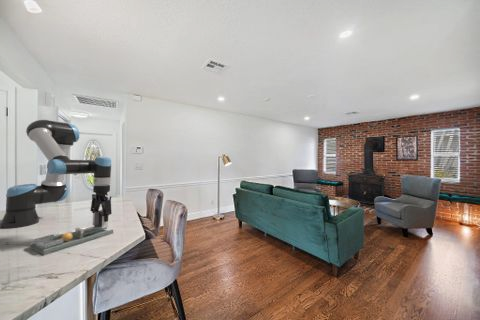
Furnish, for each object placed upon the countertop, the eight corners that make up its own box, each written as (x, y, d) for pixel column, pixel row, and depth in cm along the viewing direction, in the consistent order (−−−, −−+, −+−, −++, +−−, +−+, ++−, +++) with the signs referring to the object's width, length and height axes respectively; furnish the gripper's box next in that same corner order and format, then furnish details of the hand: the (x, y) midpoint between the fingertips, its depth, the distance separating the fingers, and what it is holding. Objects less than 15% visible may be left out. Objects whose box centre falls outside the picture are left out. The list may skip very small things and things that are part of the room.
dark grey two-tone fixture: (75, 236, 96) (76, 214, 96) (103, 228, 107) (103, 209, 108) (80, 238, 93) (81, 216, 94) (108, 229, 105) (109, 210, 105)
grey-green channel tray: (29, 247, 84) (29, 243, 84) (98, 228, 109) (98, 225, 109) (43, 255, 78) (44, 250, 78) (113, 233, 103) (113, 229, 103)
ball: (59, 241, 90) (59, 233, 90) (69, 238, 93) (70, 230, 93) (63, 243, 88) (64, 235, 88) (74, 240, 92) (74, 232, 92)
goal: (34, 247, 84) (34, 238, 84) (52, 242, 89) (52, 234, 90) (44, 253, 80) (45, 243, 80) (62, 247, 85) (63, 238, 85)
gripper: (83, 183, 105) (81, 224, 105) (106, 187, 96) (104, 231, 96) (98, 182, 112) (96, 220, 112) (120, 185, 103) (118, 227, 103)
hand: (100, 225), depth 104 cm, fingers open, 8 cm apart
